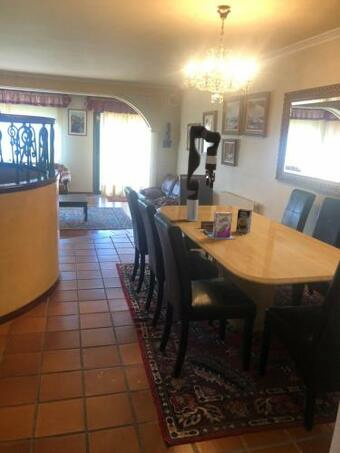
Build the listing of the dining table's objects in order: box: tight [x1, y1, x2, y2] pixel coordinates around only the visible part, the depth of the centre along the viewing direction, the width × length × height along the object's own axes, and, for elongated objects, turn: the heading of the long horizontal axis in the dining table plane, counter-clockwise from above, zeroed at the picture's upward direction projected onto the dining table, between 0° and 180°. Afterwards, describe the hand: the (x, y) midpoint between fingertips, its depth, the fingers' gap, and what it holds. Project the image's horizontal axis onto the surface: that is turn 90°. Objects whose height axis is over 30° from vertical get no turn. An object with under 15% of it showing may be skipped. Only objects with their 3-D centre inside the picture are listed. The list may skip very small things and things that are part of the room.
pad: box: [207, 234, 236, 240], centre depth 249 cm, size 10×16×1 cm, turn 100°
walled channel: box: [200, 220, 214, 230], centre depth 270 cm, size 11×14×5 cm
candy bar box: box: [213, 211, 233, 237], centre depth 247 cm, size 11×5×16 cm, turn 99°
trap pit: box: [203, 228, 213, 236], centre depth 259 cm, size 10×16×2 cm, turn 100°
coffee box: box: [235, 208, 253, 234], centre depth 267 cm, size 9×6×16 cm
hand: (209, 186), depth 250 cm, fingers open, 8 cm apart
